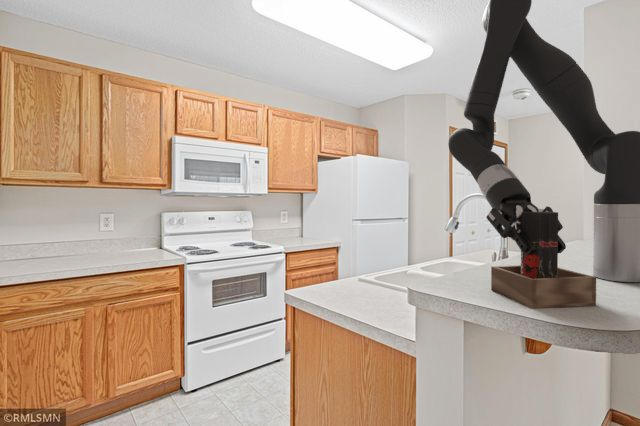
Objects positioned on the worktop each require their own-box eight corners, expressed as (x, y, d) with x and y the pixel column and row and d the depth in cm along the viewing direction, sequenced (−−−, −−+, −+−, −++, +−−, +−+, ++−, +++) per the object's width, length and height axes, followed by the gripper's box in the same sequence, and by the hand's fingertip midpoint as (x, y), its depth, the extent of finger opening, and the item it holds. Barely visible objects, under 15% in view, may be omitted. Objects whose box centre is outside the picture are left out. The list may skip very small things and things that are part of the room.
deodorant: (564, 294, 63) (565, 212, 62) (532, 294, 63) (532, 213, 62) (544, 286, 69) (545, 211, 68) (514, 286, 69) (514, 212, 68)
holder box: (545, 287, 72) (545, 264, 72) (595, 305, 60) (596, 277, 60) (491, 290, 71) (491, 266, 71) (531, 308, 59) (532, 280, 59)
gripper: (480, 177, 71) (523, 240, 60) (540, 176, 74) (593, 237, 62) (465, 202, 77) (502, 265, 65) (522, 200, 79) (566, 261, 68)
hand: (546, 251), depth 64 cm, fingers closed on deodorant, 6 cm apart
